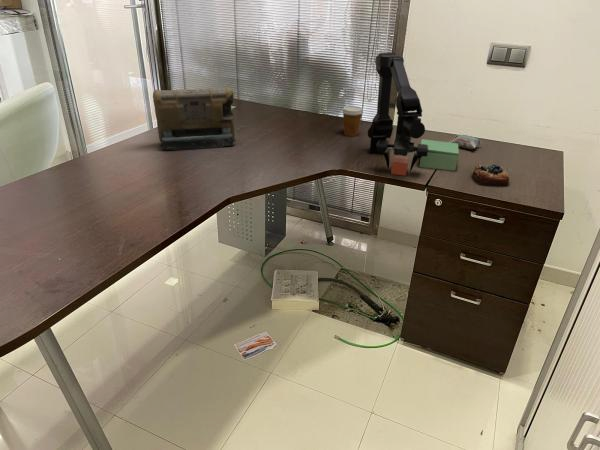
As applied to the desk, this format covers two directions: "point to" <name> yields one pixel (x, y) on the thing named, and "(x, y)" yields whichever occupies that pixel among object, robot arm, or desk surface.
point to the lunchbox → (439, 161)
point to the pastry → (490, 175)
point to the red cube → (399, 166)
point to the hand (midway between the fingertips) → (399, 169)
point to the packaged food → (466, 141)
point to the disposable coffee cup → (352, 120)
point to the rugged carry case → (194, 118)
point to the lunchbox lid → (441, 147)
